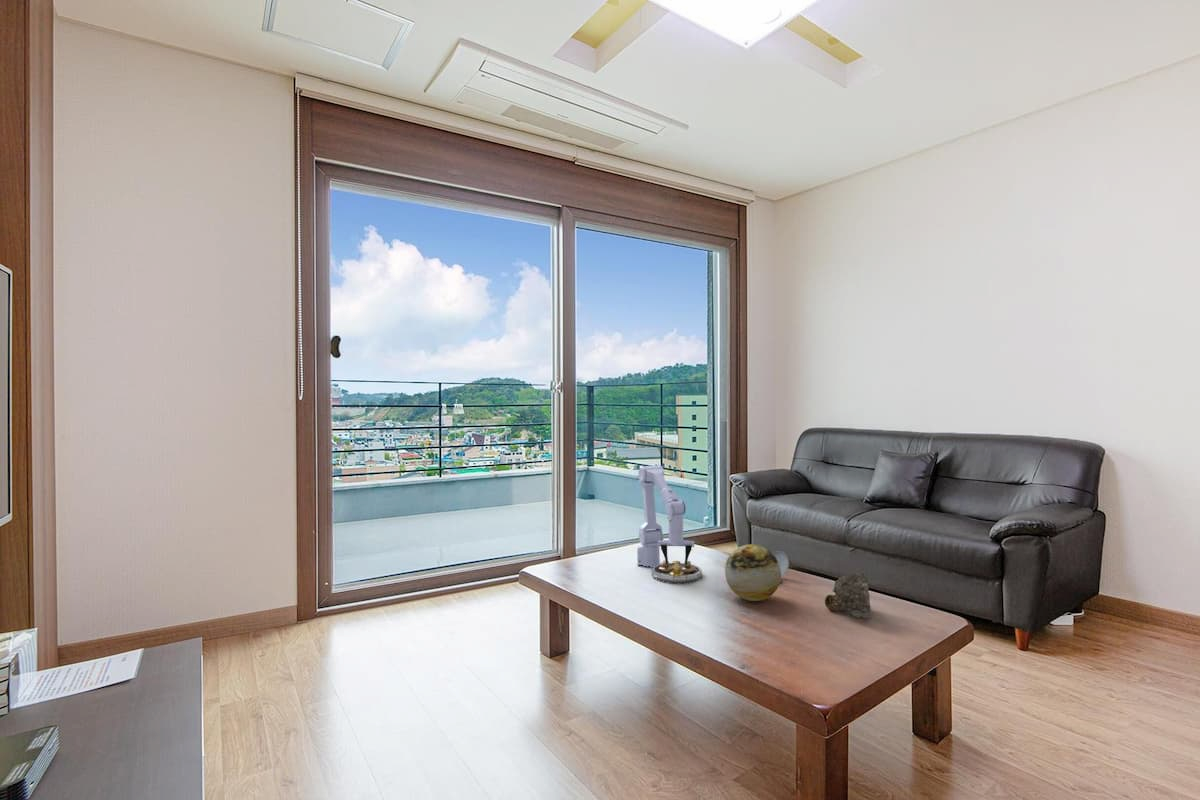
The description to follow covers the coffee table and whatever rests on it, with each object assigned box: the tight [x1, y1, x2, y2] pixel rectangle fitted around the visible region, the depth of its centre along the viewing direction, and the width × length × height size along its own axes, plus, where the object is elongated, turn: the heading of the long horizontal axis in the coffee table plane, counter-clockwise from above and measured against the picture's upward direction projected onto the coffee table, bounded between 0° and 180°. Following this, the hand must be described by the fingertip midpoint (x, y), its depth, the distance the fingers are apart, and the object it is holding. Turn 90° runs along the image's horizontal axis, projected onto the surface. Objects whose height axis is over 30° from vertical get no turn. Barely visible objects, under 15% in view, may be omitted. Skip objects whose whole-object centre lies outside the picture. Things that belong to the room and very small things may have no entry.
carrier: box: [651, 560, 703, 584], centre depth 253 cm, size 21×21×5 cm
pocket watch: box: [772, 550, 790, 583], centre depth 244 cm, size 10×11×15 cm
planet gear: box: [669, 560, 684, 576], centre depth 247 cm, size 6×6×6 cm
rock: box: [824, 572, 873, 620], centre depth 206 cm, size 18×14×15 cm
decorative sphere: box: [724, 543, 782, 602], centre depth 222 cm, size 20×20×20 cm
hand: (676, 563), depth 247 cm, fingers open, 7 cm apart
